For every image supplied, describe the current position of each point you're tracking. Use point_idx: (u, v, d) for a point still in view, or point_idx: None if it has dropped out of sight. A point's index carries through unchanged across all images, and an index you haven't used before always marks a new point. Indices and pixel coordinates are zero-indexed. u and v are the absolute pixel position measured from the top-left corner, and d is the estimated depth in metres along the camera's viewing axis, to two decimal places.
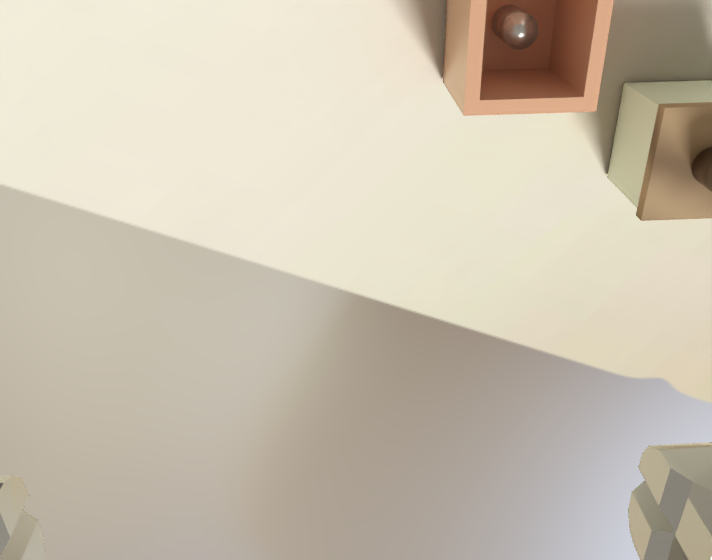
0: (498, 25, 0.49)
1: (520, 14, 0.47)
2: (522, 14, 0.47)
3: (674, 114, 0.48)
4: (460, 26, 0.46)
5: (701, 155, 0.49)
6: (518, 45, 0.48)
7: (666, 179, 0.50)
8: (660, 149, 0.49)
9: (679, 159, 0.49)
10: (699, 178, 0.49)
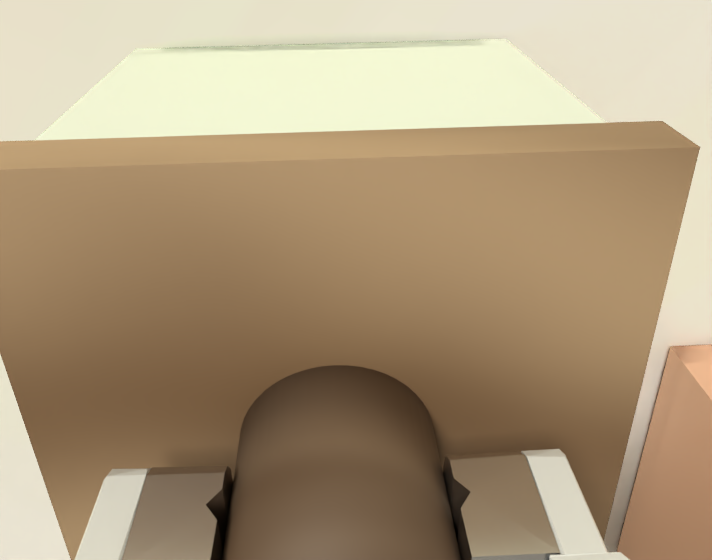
0: None
1: None
2: None
3: None
4: None
5: None
6: None
7: (556, 374, 0.09)
8: (596, 493, 0.11)
9: None
10: (440, 470, 0.09)
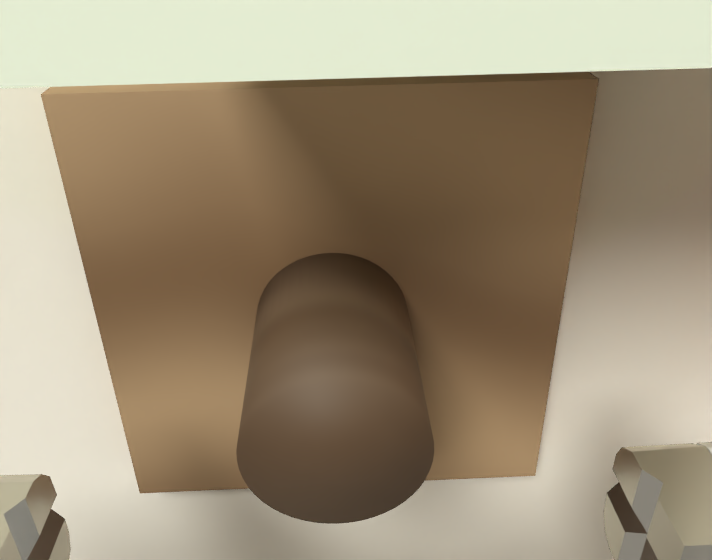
0: None
1: None
2: None
3: (502, 460, 0.15)
4: None
5: None
6: None
7: (500, 263, 0.12)
8: (537, 366, 0.13)
9: (461, 336, 0.13)
10: (409, 327, 0.11)
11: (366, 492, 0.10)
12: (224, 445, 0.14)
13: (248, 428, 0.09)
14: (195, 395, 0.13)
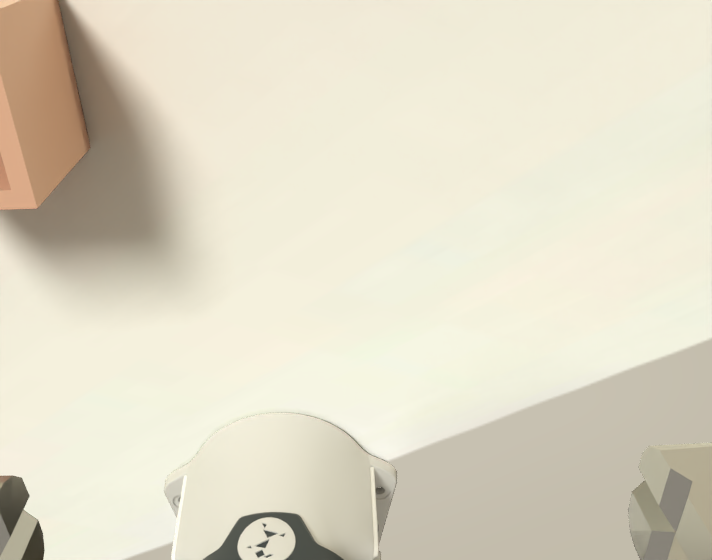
0: None
1: None
2: None
3: None
4: (39, 115, 0.34)
5: None
6: None
7: None
8: None
9: None
10: None
11: None
12: None
13: None
14: None
